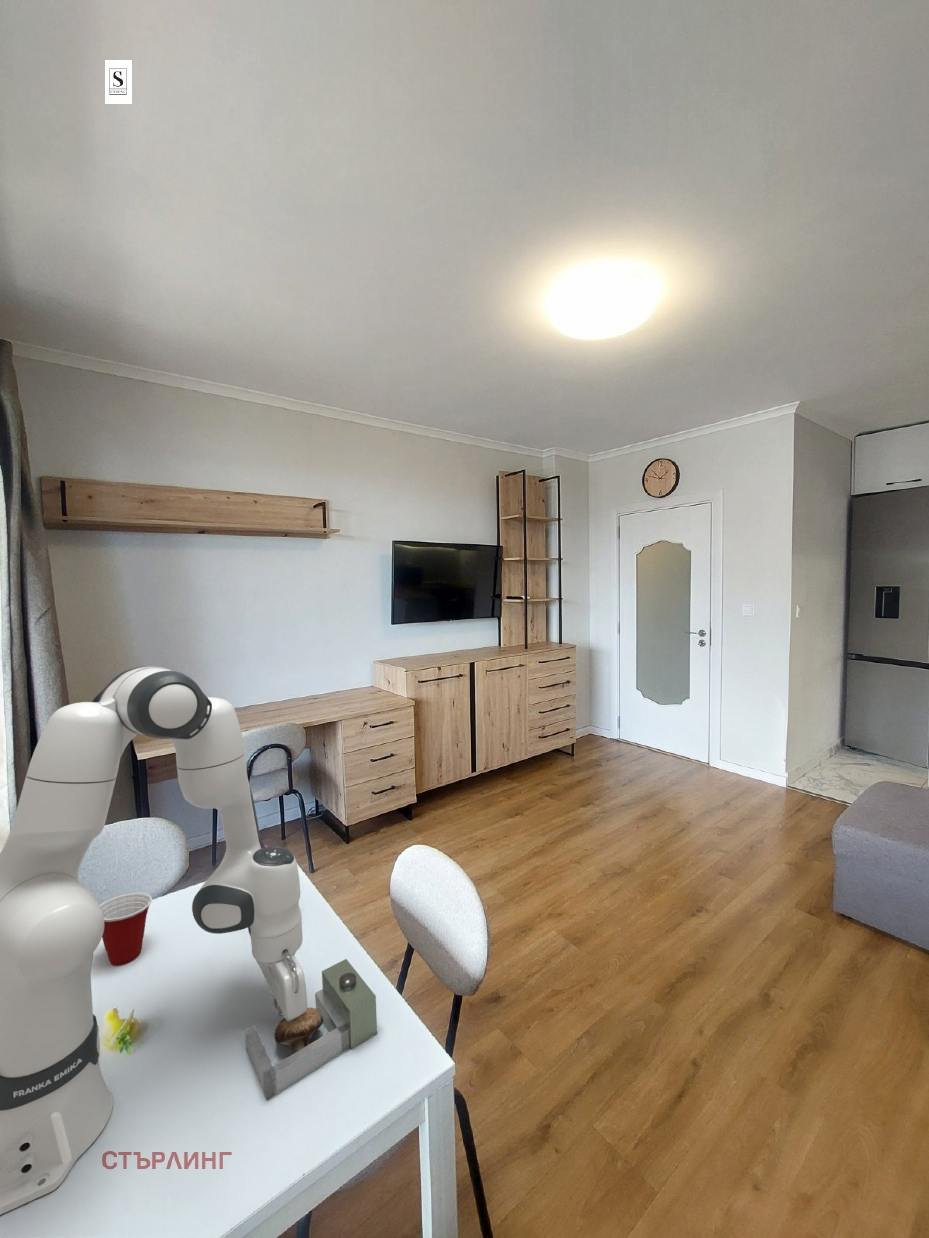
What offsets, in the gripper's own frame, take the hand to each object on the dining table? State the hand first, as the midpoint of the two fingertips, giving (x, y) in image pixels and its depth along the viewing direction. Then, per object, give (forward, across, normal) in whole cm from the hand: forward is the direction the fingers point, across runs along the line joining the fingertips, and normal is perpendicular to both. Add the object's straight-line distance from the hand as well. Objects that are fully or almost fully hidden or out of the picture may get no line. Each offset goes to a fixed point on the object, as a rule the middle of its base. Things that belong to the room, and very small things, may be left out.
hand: (280, 1008), depth 94 cm
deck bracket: (+2, -9, -3) cm, 9 cm away
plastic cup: (+2, +39, +22) cm, 44 cm away
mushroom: (+2, -8, -1) cm, 8 cm away
